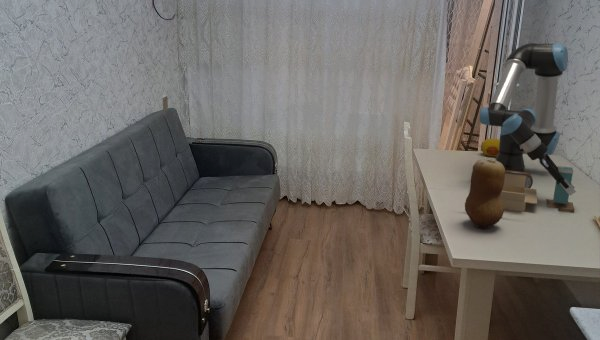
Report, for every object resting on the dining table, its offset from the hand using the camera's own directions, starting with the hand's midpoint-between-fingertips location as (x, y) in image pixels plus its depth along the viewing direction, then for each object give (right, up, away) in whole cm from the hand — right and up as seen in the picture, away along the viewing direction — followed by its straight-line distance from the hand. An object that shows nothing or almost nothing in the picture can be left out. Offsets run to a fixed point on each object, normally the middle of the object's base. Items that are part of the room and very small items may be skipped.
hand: (572, 191), depth 209 cm
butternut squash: (-43, -12, -17) cm, 48 cm away
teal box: (-4, -4, +3) cm, 6 cm away
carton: (-25, -5, +7) cm, 26 cm away
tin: (-13, 0, +26) cm, 29 cm away
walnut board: (-3, -7, +3) cm, 8 cm away
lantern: (-1, +16, +83) cm, 85 cm away
